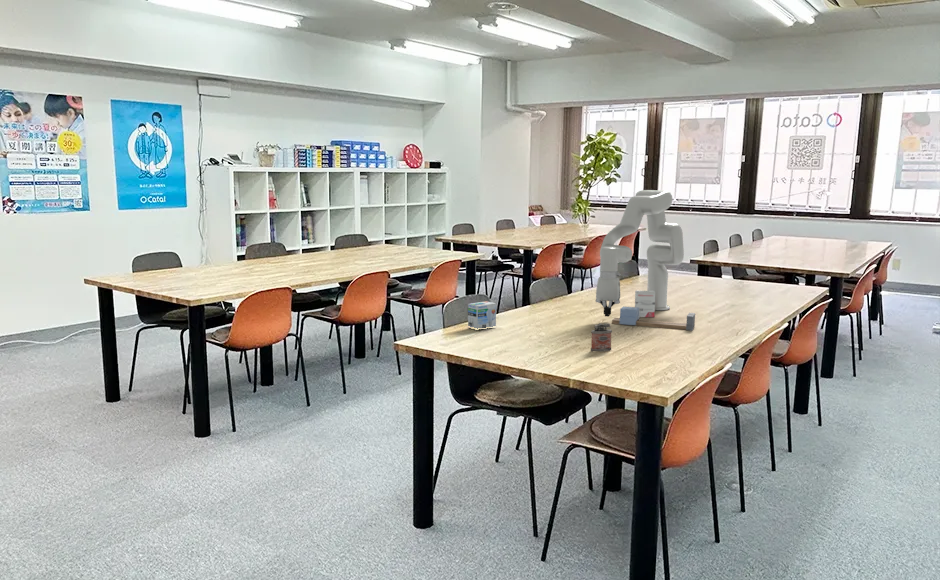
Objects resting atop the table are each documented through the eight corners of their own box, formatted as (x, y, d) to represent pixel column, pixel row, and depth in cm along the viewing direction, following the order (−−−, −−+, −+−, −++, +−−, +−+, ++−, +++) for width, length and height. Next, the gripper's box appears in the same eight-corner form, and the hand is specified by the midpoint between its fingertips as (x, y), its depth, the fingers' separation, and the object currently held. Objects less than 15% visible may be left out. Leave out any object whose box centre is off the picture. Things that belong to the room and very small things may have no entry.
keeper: (623, 320, 314) (623, 306, 313) (639, 321, 311) (639, 307, 310) (619, 323, 306) (619, 309, 306) (635, 325, 304) (636, 310, 303)
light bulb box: (477, 331, 292) (477, 305, 290) (467, 328, 297) (467, 303, 295) (496, 328, 299) (497, 302, 297) (486, 325, 304) (486, 300, 302)
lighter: (593, 352, 257) (593, 325, 256) (589, 349, 260) (589, 323, 259) (613, 350, 259) (614, 324, 258) (608, 348, 263) (609, 322, 261)
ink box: (652, 315, 328) (653, 290, 326) (654, 317, 323) (655, 291, 321) (633, 315, 329) (634, 289, 327) (635, 317, 324) (636, 291, 322)
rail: (615, 320, 315) (615, 307, 314) (694, 327, 302) (695, 313, 301) (611, 323, 308) (611, 310, 307) (692, 330, 295) (693, 316, 294)
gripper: (627, 274, 310) (625, 315, 313) (593, 273, 316) (592, 313, 319) (623, 277, 303) (622, 318, 306) (589, 275, 309) (588, 316, 312)
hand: (607, 315), depth 312 cm, fingers closed
